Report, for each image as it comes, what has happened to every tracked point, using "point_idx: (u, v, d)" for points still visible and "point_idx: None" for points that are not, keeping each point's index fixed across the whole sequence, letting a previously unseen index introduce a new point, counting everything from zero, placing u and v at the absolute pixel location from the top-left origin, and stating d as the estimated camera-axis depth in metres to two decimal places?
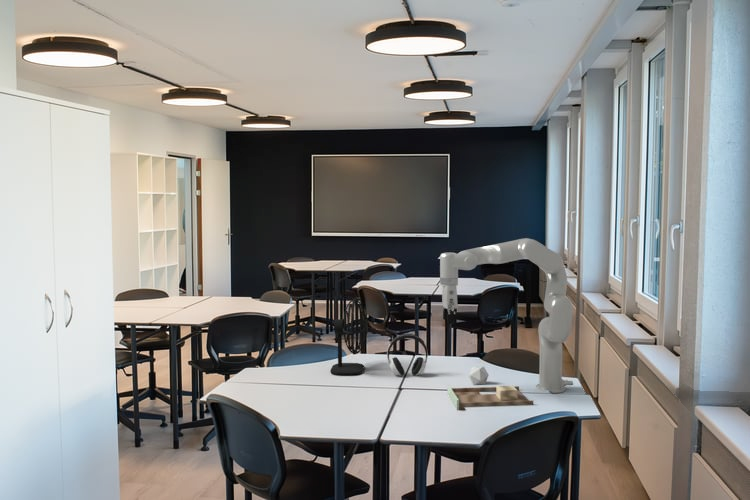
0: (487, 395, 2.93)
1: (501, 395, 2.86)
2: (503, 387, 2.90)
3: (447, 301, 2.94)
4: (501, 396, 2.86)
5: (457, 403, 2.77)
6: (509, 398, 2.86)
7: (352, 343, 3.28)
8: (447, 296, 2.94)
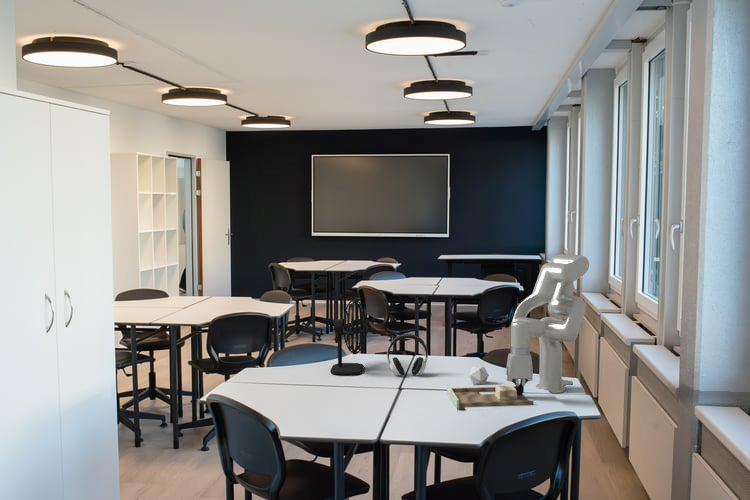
0: (487, 395, 2.93)
1: (500, 395, 2.86)
2: (502, 387, 2.90)
3: (532, 370, 2.88)
4: (500, 396, 2.86)
5: (457, 403, 2.77)
6: (508, 398, 2.86)
7: (352, 343, 3.28)
8: None
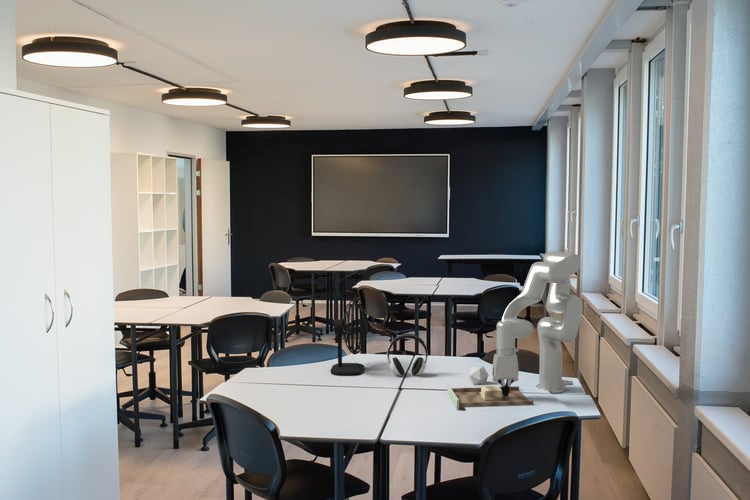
0: None
1: (485, 395, 2.86)
2: (488, 387, 2.90)
3: None
4: (485, 396, 2.86)
5: (457, 403, 2.77)
6: (494, 398, 2.86)
7: (352, 343, 3.28)
8: (517, 365, 2.87)
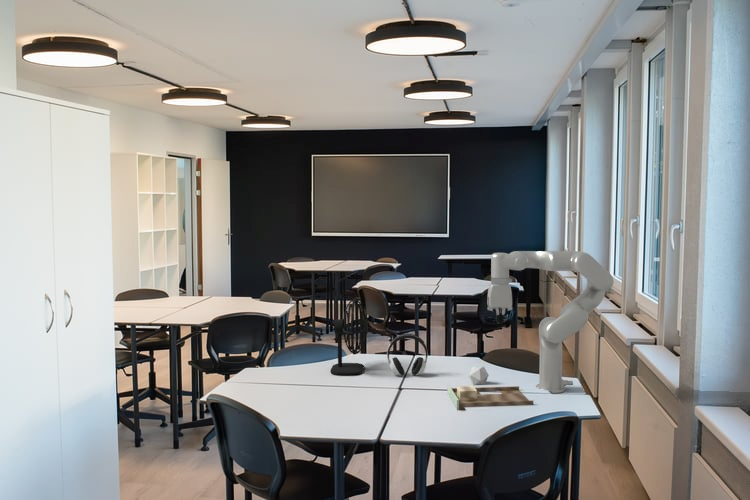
0: (487, 395, 2.93)
1: (461, 396, 2.85)
2: (463, 388, 2.90)
3: (511, 299, 3.02)
4: (461, 397, 2.85)
5: (457, 403, 2.77)
6: (469, 399, 2.86)
7: (352, 343, 3.28)
8: (511, 294, 3.01)
